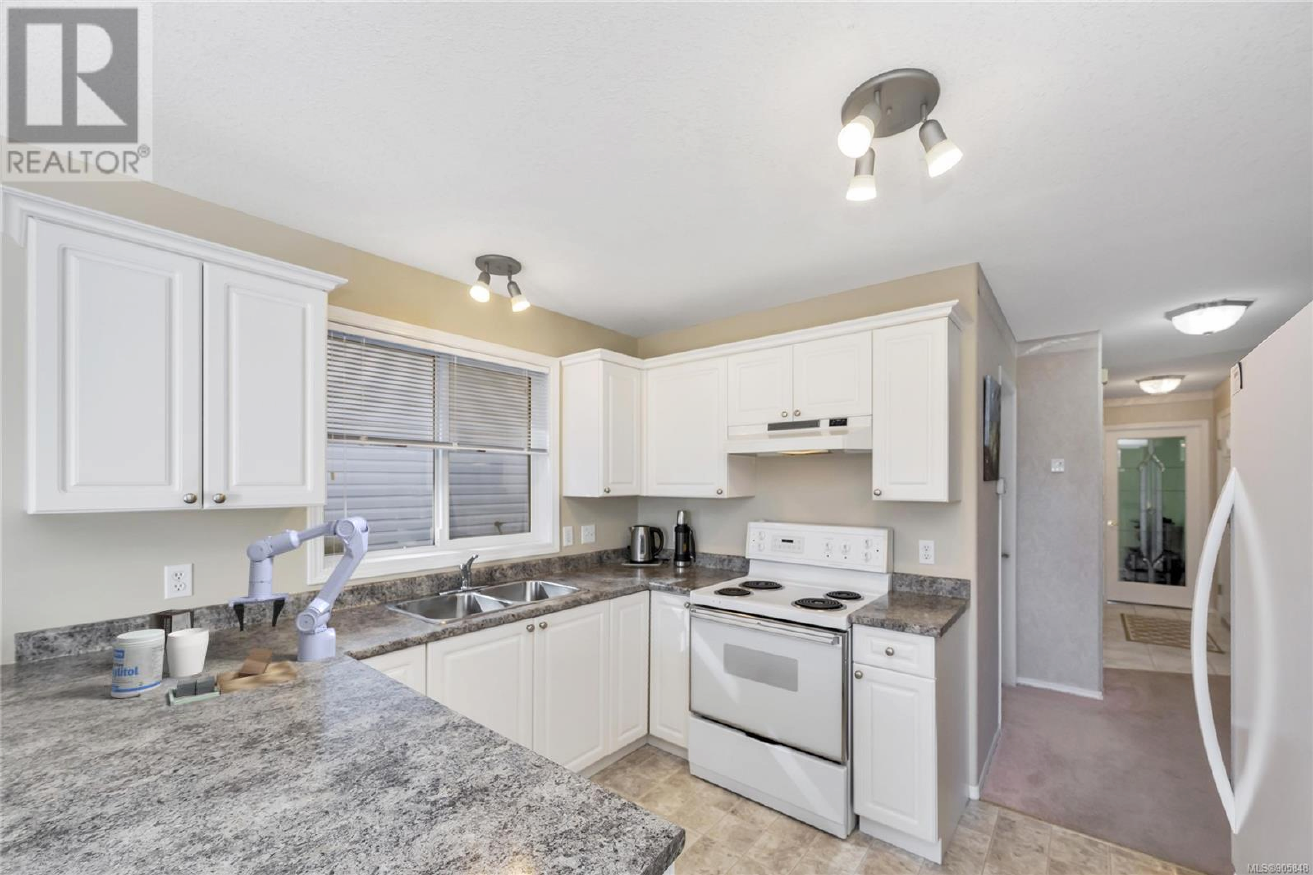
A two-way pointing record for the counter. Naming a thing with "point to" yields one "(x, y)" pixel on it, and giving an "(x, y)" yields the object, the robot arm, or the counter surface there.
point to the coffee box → (171, 626)
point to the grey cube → (205, 685)
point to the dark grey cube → (186, 687)
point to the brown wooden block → (256, 662)
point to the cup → (187, 651)
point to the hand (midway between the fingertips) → (257, 628)
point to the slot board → (256, 678)
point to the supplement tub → (137, 662)
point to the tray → (188, 698)
